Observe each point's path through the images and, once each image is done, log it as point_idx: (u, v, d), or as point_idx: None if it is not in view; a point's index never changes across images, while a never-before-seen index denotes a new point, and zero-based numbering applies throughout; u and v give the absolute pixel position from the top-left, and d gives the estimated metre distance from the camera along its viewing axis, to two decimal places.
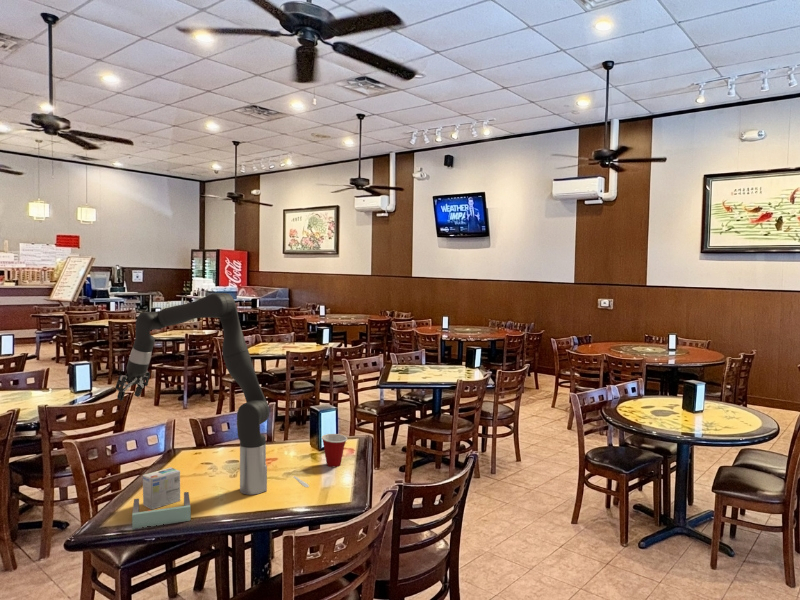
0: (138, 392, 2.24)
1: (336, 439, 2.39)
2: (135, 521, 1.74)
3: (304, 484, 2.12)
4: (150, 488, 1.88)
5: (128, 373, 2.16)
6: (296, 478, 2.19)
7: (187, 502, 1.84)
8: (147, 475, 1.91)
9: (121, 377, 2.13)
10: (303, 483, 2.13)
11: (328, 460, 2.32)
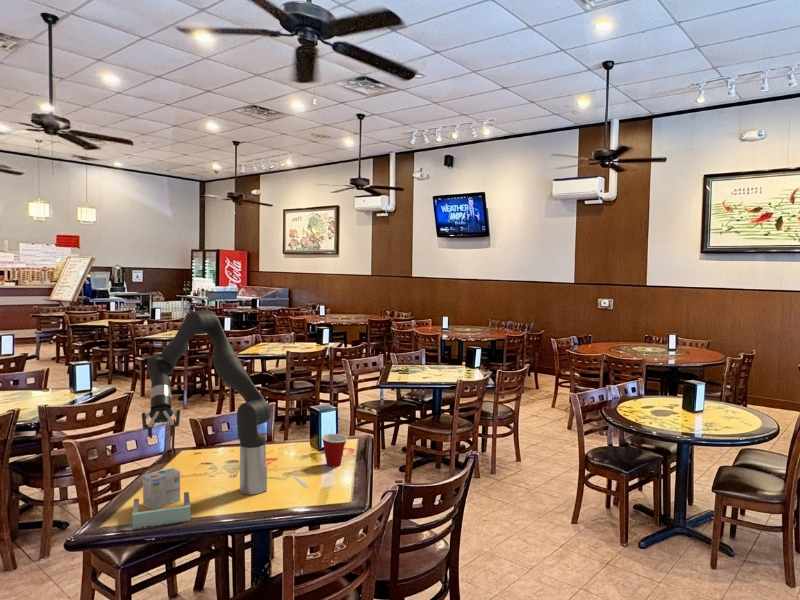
0: (170, 430, 2.12)
1: (336, 439, 2.39)
2: (135, 521, 1.74)
3: (304, 484, 2.12)
4: (150, 488, 1.88)
5: (150, 411, 2.16)
6: (296, 478, 2.18)
7: (187, 502, 1.84)
8: (147, 475, 1.91)
9: None
10: (303, 483, 2.13)
11: (328, 460, 2.32)
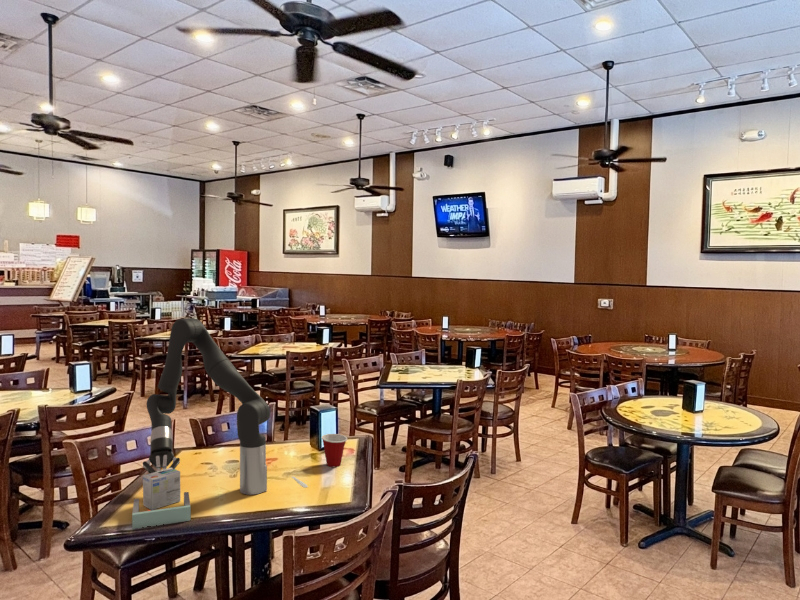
0: None
1: (336, 439, 2.39)
2: (135, 521, 1.74)
3: (303, 484, 2.12)
4: (150, 489, 1.87)
5: (150, 455, 2.03)
6: (295, 478, 2.18)
7: (187, 502, 1.84)
8: (147, 476, 1.90)
9: (143, 465, 2.00)
10: (302, 483, 2.13)
11: (328, 460, 2.32)
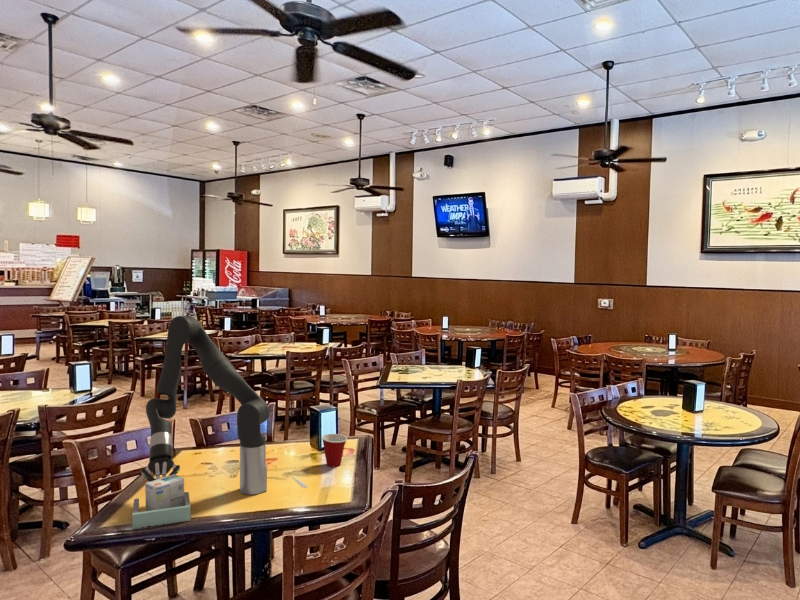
0: None
1: (336, 439, 2.39)
2: (135, 521, 1.74)
3: (302, 484, 2.12)
4: (153, 497, 1.81)
5: (149, 462, 1.96)
6: (294, 478, 2.18)
7: (187, 502, 1.84)
8: (150, 483, 1.83)
9: (142, 472, 1.93)
10: (301, 483, 2.13)
11: (328, 460, 2.32)
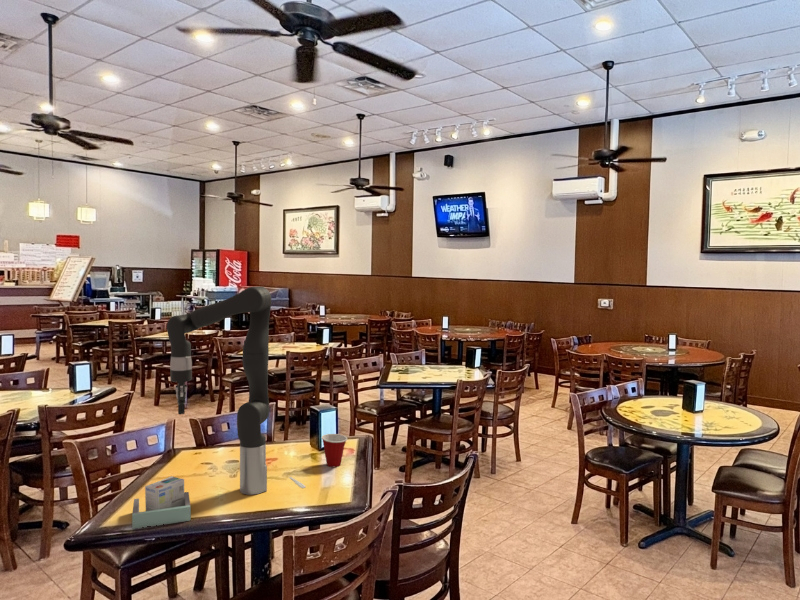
0: None
1: (336, 439, 2.39)
2: (135, 521, 1.74)
3: (300, 485, 2.11)
4: (156, 499, 1.79)
5: (181, 383, 2.06)
6: (292, 479, 2.18)
7: (187, 502, 1.84)
8: (151, 486, 1.81)
9: (181, 394, 2.04)
10: (299, 484, 2.12)
11: (328, 460, 2.32)
